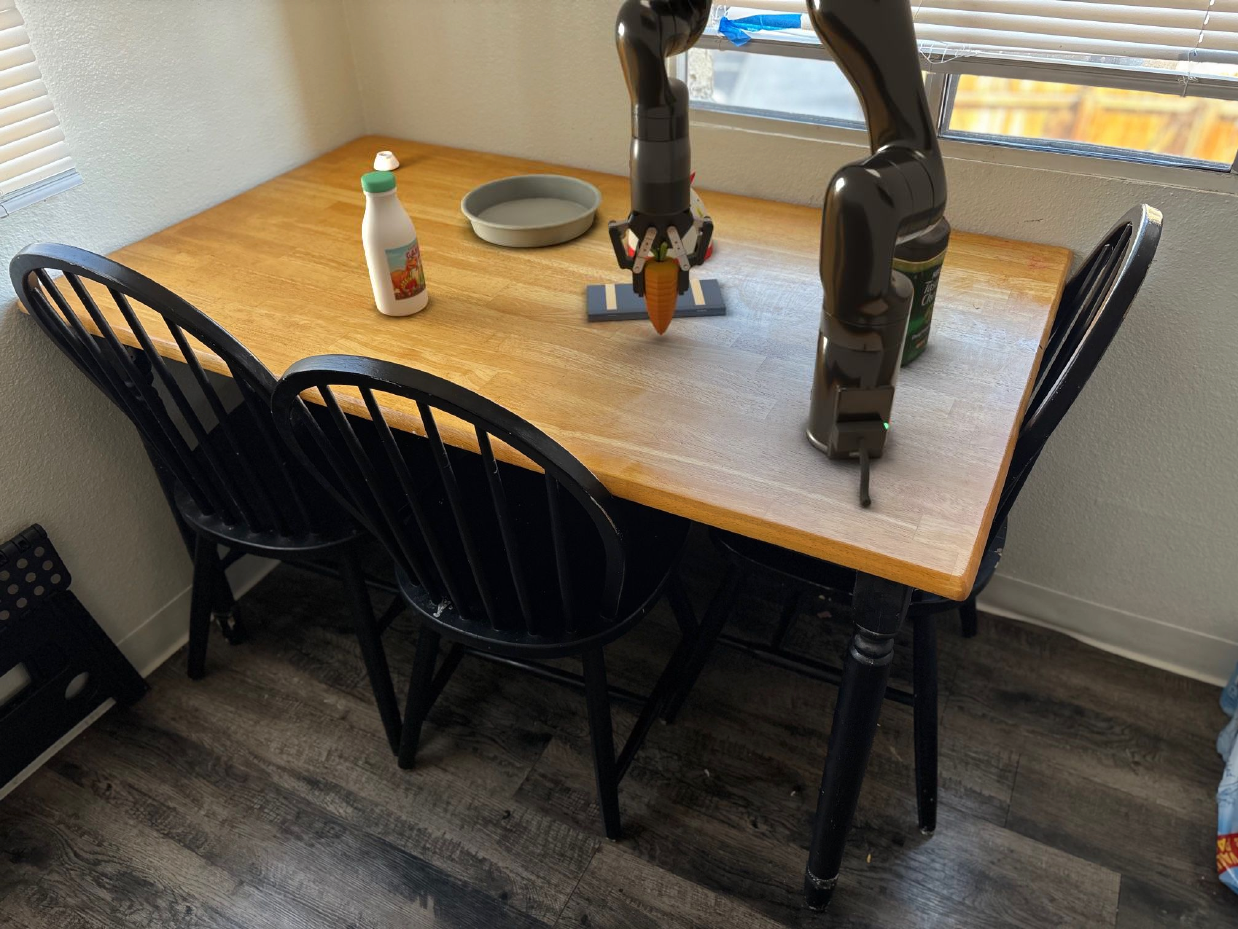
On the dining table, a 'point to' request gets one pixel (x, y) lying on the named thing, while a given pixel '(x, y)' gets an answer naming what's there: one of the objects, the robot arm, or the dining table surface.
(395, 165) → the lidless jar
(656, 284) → the carrot
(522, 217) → the cake pan
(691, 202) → the kitchen timer
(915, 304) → the coffee jar
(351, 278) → the dining table surface
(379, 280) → the milk bottle
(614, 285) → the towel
